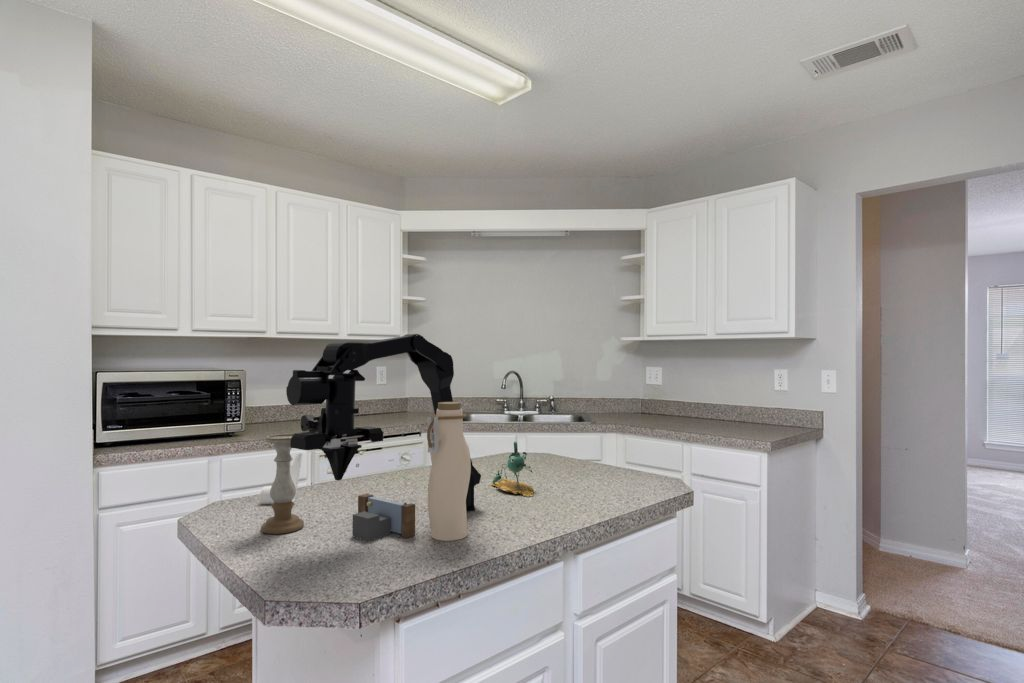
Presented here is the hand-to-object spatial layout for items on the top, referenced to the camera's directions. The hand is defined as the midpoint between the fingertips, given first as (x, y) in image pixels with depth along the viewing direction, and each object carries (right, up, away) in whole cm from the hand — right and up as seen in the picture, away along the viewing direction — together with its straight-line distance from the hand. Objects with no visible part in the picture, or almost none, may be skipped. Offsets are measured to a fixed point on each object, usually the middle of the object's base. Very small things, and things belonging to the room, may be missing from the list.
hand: (338, 480), depth 113 cm
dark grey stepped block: (+6, -13, +5) cm, 15 cm away
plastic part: (-25, -14, +33) cm, 44 cm away
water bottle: (+22, -13, +4) cm, 26 cm away
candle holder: (-15, -13, +9) cm, 22 cm away
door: (+8, -13, +8) cm, 17 cm away
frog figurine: (+36, -14, +44) cm, 58 cm away
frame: (+8, -13, +8) cm, 17 cm away
